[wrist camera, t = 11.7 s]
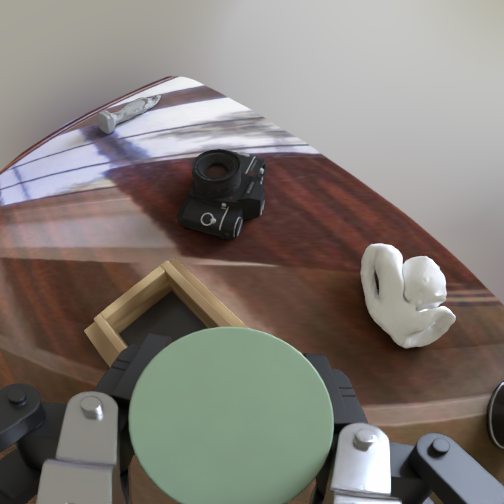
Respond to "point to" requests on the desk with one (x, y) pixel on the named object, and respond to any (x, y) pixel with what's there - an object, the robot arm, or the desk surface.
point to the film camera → (223, 193)
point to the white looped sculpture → (405, 296)
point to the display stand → (158, 311)
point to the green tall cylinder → (231, 419)
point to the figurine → (125, 113)
